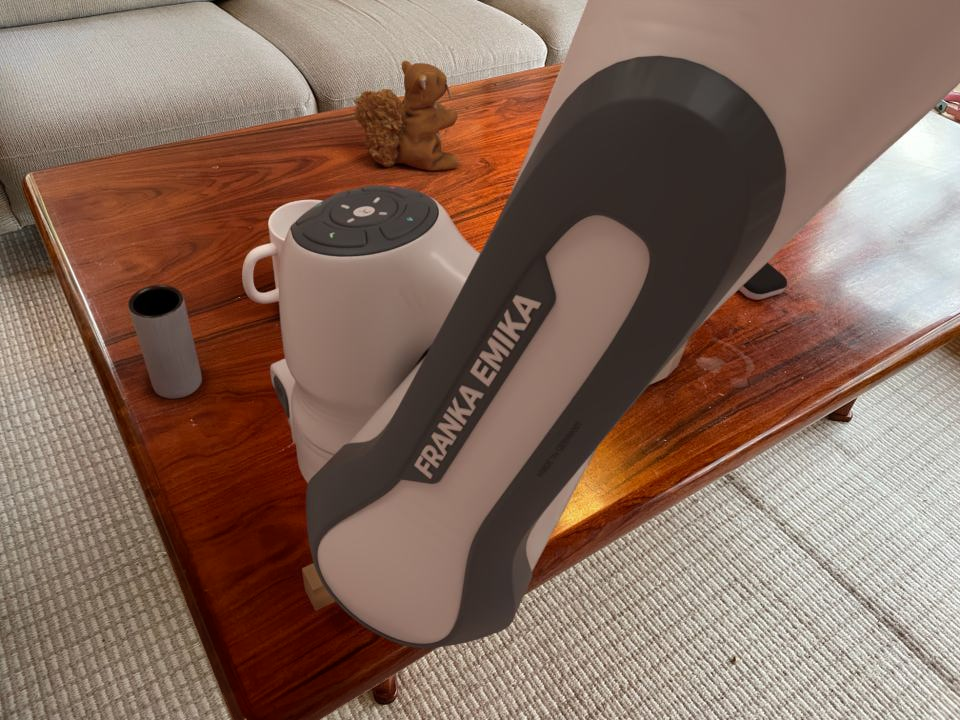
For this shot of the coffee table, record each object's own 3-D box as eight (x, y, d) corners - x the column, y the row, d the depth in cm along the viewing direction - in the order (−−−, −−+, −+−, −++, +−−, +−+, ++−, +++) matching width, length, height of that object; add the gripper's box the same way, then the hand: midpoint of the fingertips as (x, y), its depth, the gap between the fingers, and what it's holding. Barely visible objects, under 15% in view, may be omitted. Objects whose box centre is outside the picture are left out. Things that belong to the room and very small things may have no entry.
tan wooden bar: (422, 532, 59) (424, 510, 56) (435, 551, 57) (437, 530, 55) (304, 589, 54) (301, 568, 52) (315, 611, 53) (312, 590, 51)
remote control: (751, 304, 89) (757, 291, 88) (686, 246, 97) (690, 233, 96) (788, 293, 92) (794, 280, 90) (721, 237, 99) (726, 224, 98)
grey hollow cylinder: (160, 405, 69) (135, 323, 62) (147, 374, 71) (121, 292, 64) (208, 389, 71) (190, 308, 64) (194, 360, 73) (174, 278, 66)
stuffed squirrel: (464, 169, 106) (472, 79, 96) (368, 180, 101) (368, 87, 92) (440, 136, 112) (445, 49, 103) (349, 145, 107) (347, 55, 98)
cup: (367, 306, 82) (366, 230, 75) (266, 344, 76) (255, 266, 69) (330, 267, 86) (326, 191, 79) (232, 300, 80) (219, 222, 73)
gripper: (506, 539, 40) (483, 653, 50) (345, 323, 52) (351, 447, 62) (405, 592, 38) (401, 701, 47) (259, 350, 49) (279, 477, 59)
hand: (371, 556), depth 54 cm, fingers closed on tan wooden bar, 2 cm apart
